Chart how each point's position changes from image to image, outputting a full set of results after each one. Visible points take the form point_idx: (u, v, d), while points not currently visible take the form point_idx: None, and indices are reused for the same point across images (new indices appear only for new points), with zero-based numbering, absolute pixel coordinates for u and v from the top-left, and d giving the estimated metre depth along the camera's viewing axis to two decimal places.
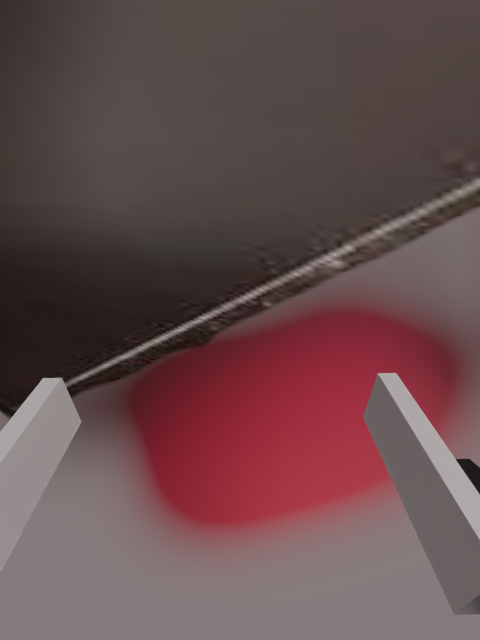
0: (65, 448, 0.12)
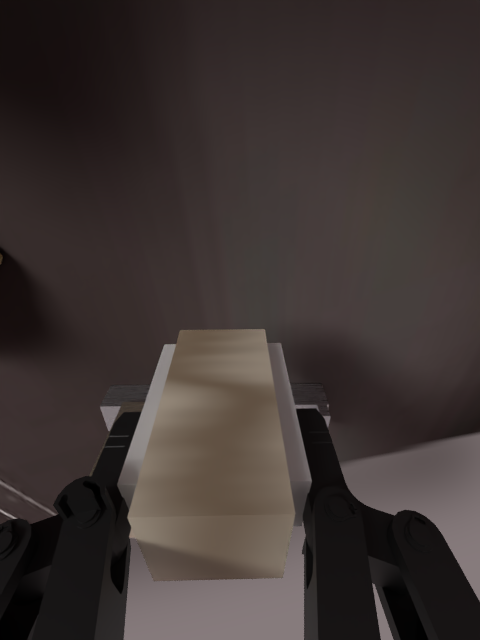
0: None
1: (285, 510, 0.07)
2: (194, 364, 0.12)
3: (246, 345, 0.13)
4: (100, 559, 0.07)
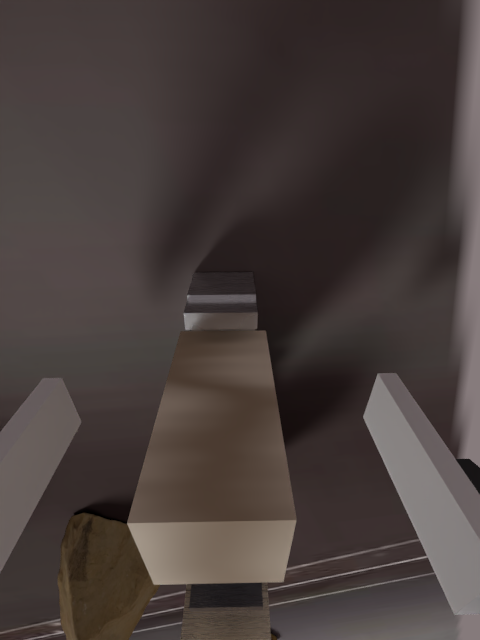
0: (65, 448, 0.12)
1: (286, 516, 0.07)
2: (194, 366, 0.12)
3: (247, 346, 0.13)
4: None
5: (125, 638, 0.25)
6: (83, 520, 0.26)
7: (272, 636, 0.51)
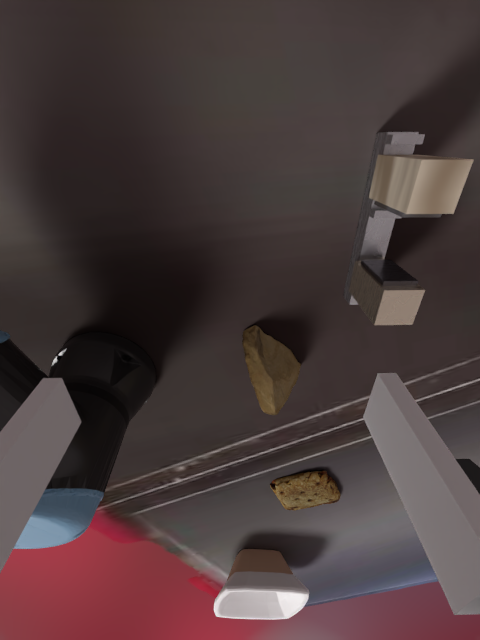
0: (65, 448, 0.12)
1: (469, 160, 0.22)
2: None
3: (415, 155, 0.28)
4: None
5: (286, 398, 0.41)
6: (256, 328, 0.42)
7: None
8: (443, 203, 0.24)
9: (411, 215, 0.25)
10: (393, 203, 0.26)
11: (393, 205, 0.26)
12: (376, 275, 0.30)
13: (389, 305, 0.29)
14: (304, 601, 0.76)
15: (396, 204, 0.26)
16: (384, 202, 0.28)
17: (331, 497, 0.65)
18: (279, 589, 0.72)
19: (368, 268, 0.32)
